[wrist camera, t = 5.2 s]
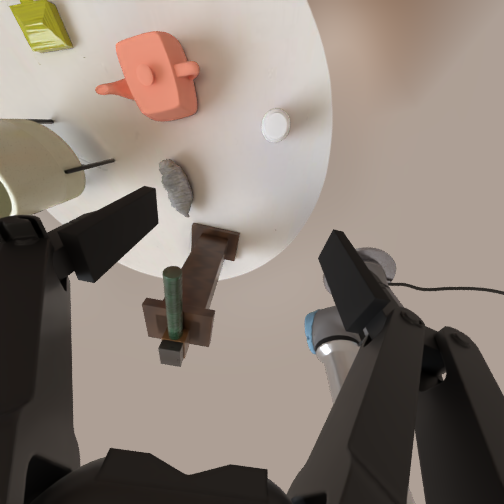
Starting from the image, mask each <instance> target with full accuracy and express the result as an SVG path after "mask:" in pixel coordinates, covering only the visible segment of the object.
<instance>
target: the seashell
mask: <svg viewBox="0 0 504 504" xmlns="http://www.w3.org/2000/svg"><path fill="white" fill-rule="evenodd" d="M159 168H160V169H159V170H160V172H161V174H162V175H163V176H162V183H163V186H164V188H165V189H166V190H167V192H168V196H169V197H168V198H169V200H170V202H171V205H172V206H173V207H174V208H176V210H177V211H179V213H181V214H183V215H184V216H185V217H189V214H188V213H189V210H190V207H191V202H192V198H193V196H192V190H191V188H190V187H189V182H188V180H187V176H186V175H185V173H184V172H183V171H182V169H181V167H179V166H178V165H176V164H175V163H174V162H173V161H172V160H167V159H166V160H163V161H162V162H160V163H159Z"/></svg>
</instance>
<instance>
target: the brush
mask: <svg viewBox="0 0 504 504" xmlns="http://www.w3.org/2000/svg"><path fill="white" fill-rule="evenodd" d="M163 283H164V293H165V304H166V315H167V325H168V326H167V328H166V330H165V332H164V334H163V336H162V342H161V344H160V346H159V354H160V360H161V364H167V365H173V366H180V367H181V363H182V361H183V358H185V355H186V353H187V350H188V347H189V330H187V329H183V292H182V270H181V268H179V267H176V266H170V267H167V268H166V269H164V271H163Z"/></svg>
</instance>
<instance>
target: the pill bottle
mask: <svg viewBox="0 0 504 504" xmlns="http://www.w3.org/2000/svg"><path fill="white" fill-rule="evenodd" d="M289 130H290V119H289V116H288V114H287V113H286V112H285V111H284V110H282V109H279V108H275V109H272V110H270V111H268V112H267V113H266V115H265V116H264V118H263V121H262V133H263V135H264V137H265V138H266V139H267V140H268V141H270V142H273V143H277V142H280V141H282V140H283V139H285V137H286V136H287V135H288V133H289Z"/></svg>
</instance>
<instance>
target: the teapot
mask: <svg viewBox="0 0 504 504" xmlns="http://www.w3.org/2000/svg"><path fill="white" fill-rule="evenodd" d="M116 52H117V56H118V59H119V62H120V65H121V68H122V71H123V74H124V76H125V79H122V80H119V81H116V82H113V83H108V84H101V85H99V86H97V87H96V89H95V91H96V92H97V93H98V94H101V95H106V94H115V95H119V96H122V97H125V98H128V99H132V100H135V101H136V103H137V105H138V107H139V109H140V110H141V112H142V113H143V114H144V115H146V116H147V117H149V118H151V119H152V120H155V121H161V122H163V121H171V120H177V119H181V118H184V117H188V116H190V115H193V114H195V113H196V111H197V98H196V92H195V86H194V82H193V79H194V78H196V77H197V76H198V74H199V71H200V70H199V65H198V64H197V63H196V62H194V61H188V62H187V59H186V56H185V54H184V51H183V49H182V47H181V45H180V43H179V41H178V40H177V39H176V38H175V37H174V36H172V35H171V34H169V33H166V32H160V31H153V32H148V33H144V34H140V35H137V36H134V37H131V38H128V39H125V40H122V41H120V42H118V43H117V44H116Z"/></svg>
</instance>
